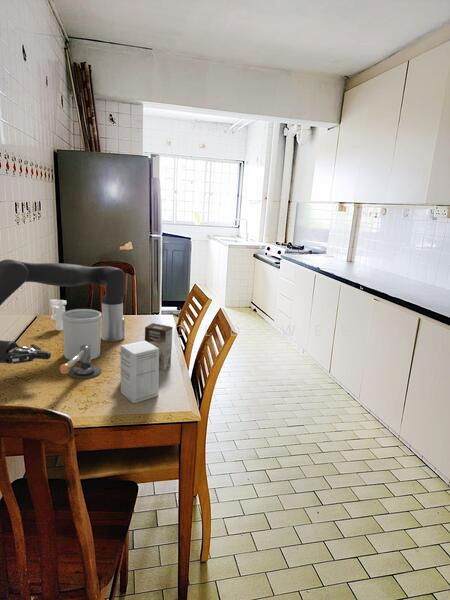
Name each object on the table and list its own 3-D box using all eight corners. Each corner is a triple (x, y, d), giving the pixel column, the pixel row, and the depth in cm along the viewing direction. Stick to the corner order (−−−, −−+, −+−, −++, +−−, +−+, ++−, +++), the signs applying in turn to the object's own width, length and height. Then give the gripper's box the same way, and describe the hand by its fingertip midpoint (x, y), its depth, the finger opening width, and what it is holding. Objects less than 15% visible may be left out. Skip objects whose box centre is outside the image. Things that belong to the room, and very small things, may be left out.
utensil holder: (109, 353, 162) (109, 312, 158) (83, 364, 149) (82, 320, 145) (82, 346, 168) (81, 307, 164) (54, 356, 155) (53, 314, 151)
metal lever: (79, 367, 144) (78, 343, 142) (97, 368, 144) (97, 345, 142) (52, 392, 125) (51, 364, 123) (74, 393, 124) (73, 366, 122)
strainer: (49, 328, 188) (48, 298, 185) (65, 326, 192) (64, 297, 189) (53, 332, 183) (52, 301, 179) (69, 330, 187) (68, 300, 183)
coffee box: (143, 366, 151) (143, 326, 147) (151, 360, 157) (152, 322, 153) (164, 370, 148) (165, 330, 145) (171, 365, 154) (173, 326, 151)
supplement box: (145, 385, 135) (146, 339, 131) (159, 396, 128) (160, 347, 125) (119, 392, 129) (119, 344, 125) (132, 404, 122) (133, 353, 118)
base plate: (77, 365, 148) (77, 364, 148) (105, 367, 148) (105, 366, 147) (64, 377, 137) (64, 376, 137) (95, 379, 137) (95, 378, 137)
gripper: (10, 355, 138) (58, 359, 138) (-13, 369, 125) (39, 374, 125) (10, 334, 137) (58, 339, 136) (-15, 347, 124) (39, 352, 123)
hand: (49, 355), depth 130 cm, fingers closed
